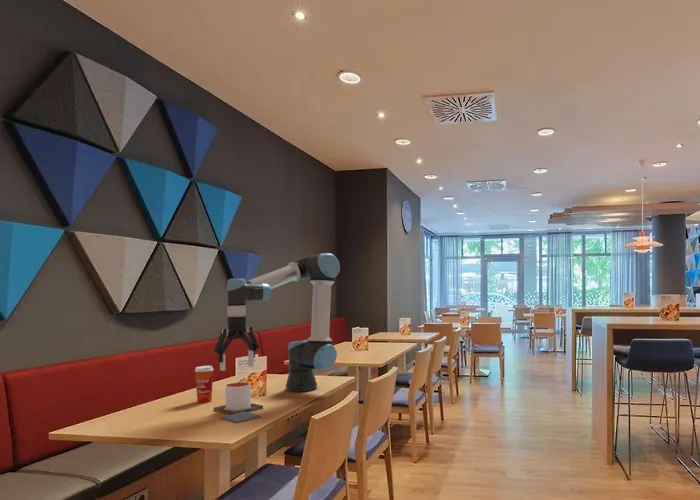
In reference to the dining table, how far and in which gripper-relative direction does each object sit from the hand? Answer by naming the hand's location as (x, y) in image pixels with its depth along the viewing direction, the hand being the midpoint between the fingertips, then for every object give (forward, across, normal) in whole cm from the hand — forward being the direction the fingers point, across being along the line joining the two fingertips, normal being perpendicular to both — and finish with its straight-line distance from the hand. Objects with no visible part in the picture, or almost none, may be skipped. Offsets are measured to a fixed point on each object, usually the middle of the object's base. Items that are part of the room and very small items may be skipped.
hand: (237, 368), depth 215 cm
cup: (+17, 0, 0) cm, 17 cm away
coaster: (+16, +7, +13) cm, 22 cm away
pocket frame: (+16, 0, 0) cm, 16 cm away
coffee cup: (+17, 0, -26) cm, 31 cm away
